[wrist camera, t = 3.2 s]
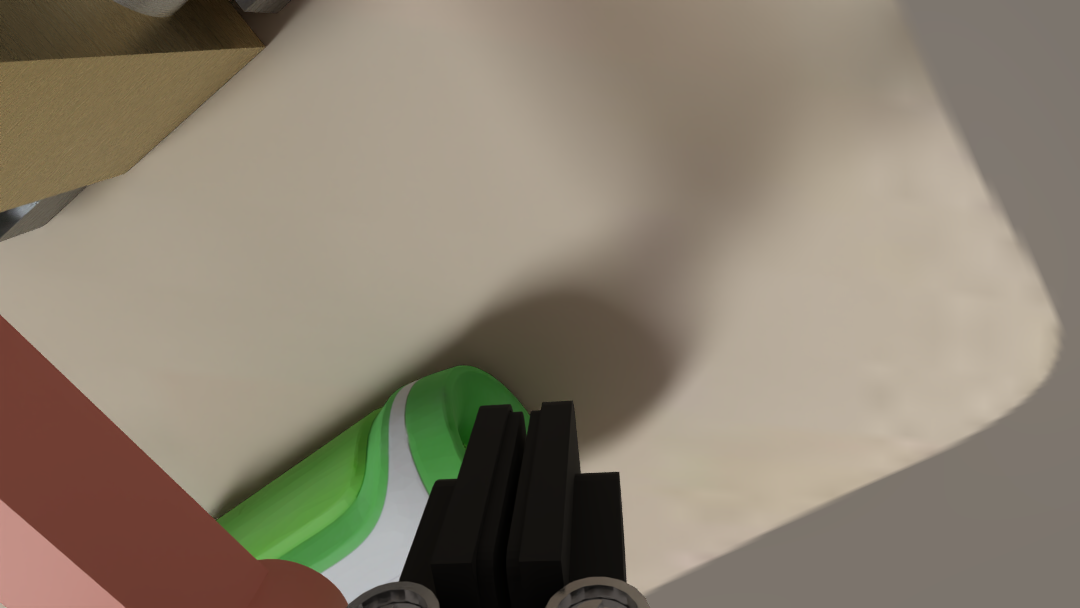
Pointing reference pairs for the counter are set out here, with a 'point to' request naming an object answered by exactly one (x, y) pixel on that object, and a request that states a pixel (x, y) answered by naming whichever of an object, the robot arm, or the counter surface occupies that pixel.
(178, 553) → the lever
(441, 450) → the speaker
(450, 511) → the robot arm
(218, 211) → the counter surface
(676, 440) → the counter surface
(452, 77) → the counter surface
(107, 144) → the pipe valve
